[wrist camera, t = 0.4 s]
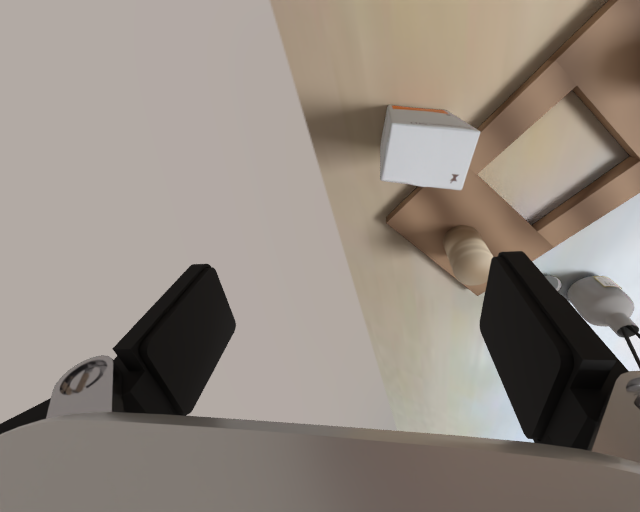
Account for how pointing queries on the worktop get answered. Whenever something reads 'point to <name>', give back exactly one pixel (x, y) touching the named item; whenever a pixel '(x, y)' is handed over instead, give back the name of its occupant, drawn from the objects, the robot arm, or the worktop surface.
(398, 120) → the skincare box
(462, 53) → the worktop surface
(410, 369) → the worktop surface
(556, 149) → the worktop surface
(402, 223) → the walnut rail
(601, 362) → the robot arm
